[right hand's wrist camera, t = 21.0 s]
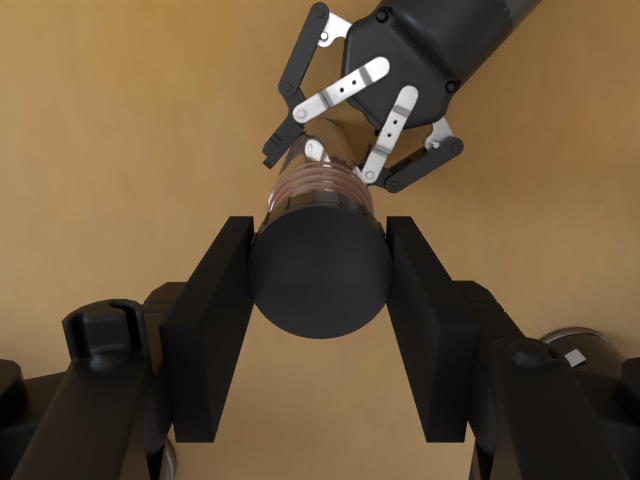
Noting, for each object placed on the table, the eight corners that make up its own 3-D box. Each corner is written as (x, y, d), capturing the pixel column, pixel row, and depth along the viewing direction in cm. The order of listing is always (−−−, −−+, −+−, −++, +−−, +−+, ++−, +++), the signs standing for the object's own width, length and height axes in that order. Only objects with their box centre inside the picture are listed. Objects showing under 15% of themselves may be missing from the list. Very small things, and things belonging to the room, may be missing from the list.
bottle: (298, 113, 36) (256, 182, 12) (351, 124, 36) (410, 209, 13) (289, 167, 38) (237, 319, 14) (341, 176, 38) (375, 340, 14)
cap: (378, 177, 13) (385, 190, 12) (395, 304, 15) (404, 328, 13) (237, 202, 14) (227, 217, 12) (269, 324, 15) (264, 350, 14)
